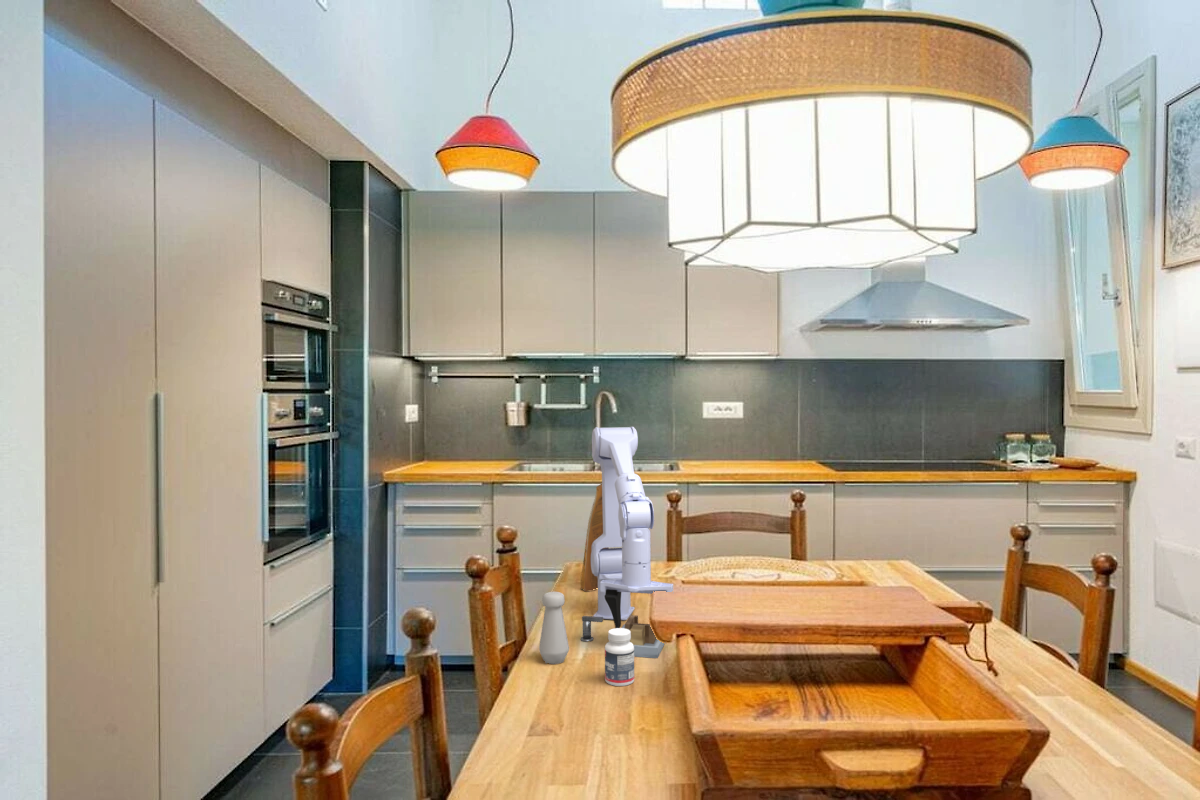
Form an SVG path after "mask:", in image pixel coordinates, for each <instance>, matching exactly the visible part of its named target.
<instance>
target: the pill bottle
mask: <svg viewBox="0 0 1200 800" xmlns="http://www.w3.org/2000/svg"><path fill="white" fill-rule="evenodd" d="M607 635H608V636H607V639H608V642H606V644H605V646H604V680H605V683H607V684H608V685H610V686H616V687H624V686H625V687H626V686H629V685H632V684H633V683H634V682H635V656H634V646H633V644H632V643H631V642H630V638H631V632H630V630H628V629H625V628H622V627H620V628H615V627H614V628H611V629H609V630H608V634H607Z"/></svg>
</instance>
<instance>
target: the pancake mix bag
mask: <svg viewBox="0 0 1200 800" xmlns="http://www.w3.org/2000/svg"><path fill="white" fill-rule="evenodd" d="M595 488H596V491H595V496H594V499H593V503H592V506H591V510H590V514H589V517H588V523H587V524H588V525H587V529H586V536H585V537H586V538H585V544H584V545H585V546H584V555H583V560H582V569H581V576H580V589H581V588H582V589H584V590H583V591H584V592H588V591H587V590H593V589H596V588H598V577H597V576H594V574H593V573H592V570H591V552H592V543H593V542H594V541H595V540H596V539H597V538H598V537H600V536H601V535H602V534H603V505H602V483H600V484H599V485H597V486H596V487H595ZM607 548H610V547H607ZM607 548H602V549H607ZM582 589H581V590H582Z"/></svg>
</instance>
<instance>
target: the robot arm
mask: <svg viewBox="0 0 1200 800" xmlns="http://www.w3.org/2000/svg"><path fill="white" fill-rule="evenodd" d="M638 445H639V438H638V431H637V429H636V428H635V427H634V426H629V427H628V426H627V427H626V426H625V427H624V426H623V427H622V426H621V427H618V426H617V427H598V426H596V427H594V428H593V429H592V433H591V457H592V461H593V462H594V463H596V464H599V466H600V470H601V471H600V472H601V484H602V505H603V534H602V535H601V536H600V537H598V538H597V539H596V540H595V541H594V542H593V543H592V552H591V570H592V573H593V574H594V576H597V577H598V590H597V609H598V610H596V612H595V613H594V614H593V616H595V617H603V620H613V622H614V628H622V621H627V620H628V618H629V617H630V615H632V614H633V612H634V611H635V607H634V606H631V604H632V602H631V593H633V594H635V593H636V594H648V595H649V594H650V595H653V594H652V593H653V591H654V592H655V591H666V592H672V591H673V592H674V583H667V582H660V581H654V580H652V577H651V574H652V573H651V571H652V570H651V569H652V568H651V567H652V566H651V563H652V561H651V557H652V555H651V554H652V553H651V552H652V551H651V545H652V544H651V530H652V529H654V525H655V510H654V504H653V502H652V500H651V499H650V498H649V496H646V493H645V490H644V485H643V483H642V478H641V477H640V476H639V475H638V474H637V473H635V470H634V463H633V457H634V456H635V455H636V452H637V450H638V447H639V446H638ZM607 547H609V548H607ZM602 548H607V549H602Z"/></svg>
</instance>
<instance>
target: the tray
mask: <svg viewBox="0 0 1200 800" xmlns="http://www.w3.org/2000/svg"><path fill="white" fill-rule="evenodd" d="M621 628H625V623H624V624H622V625H621ZM633 646H634V658H635V657H637V658H650V659H658V658H659V656H660V654H661V652H662V651H663V648H664V646H665V644H664V643H662V642H660V641H659V640H657V639H656V640H655V643H654V644H651V643H645V644H644V646H642V645H633Z"/></svg>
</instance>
